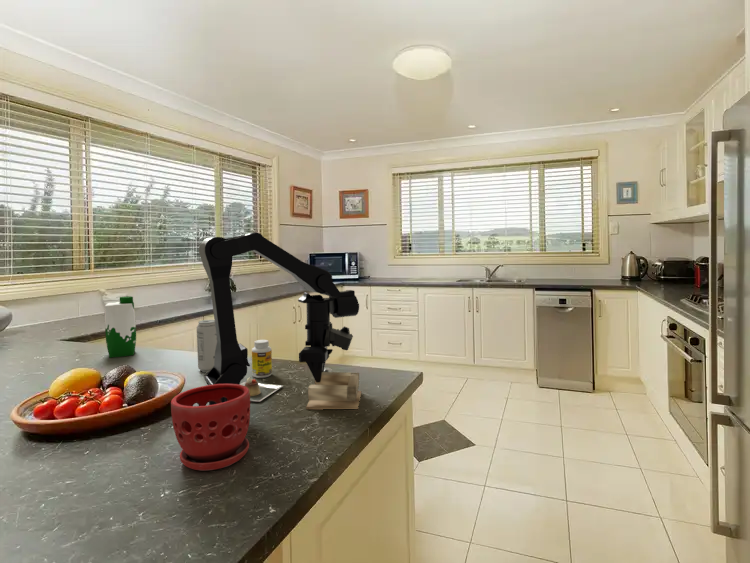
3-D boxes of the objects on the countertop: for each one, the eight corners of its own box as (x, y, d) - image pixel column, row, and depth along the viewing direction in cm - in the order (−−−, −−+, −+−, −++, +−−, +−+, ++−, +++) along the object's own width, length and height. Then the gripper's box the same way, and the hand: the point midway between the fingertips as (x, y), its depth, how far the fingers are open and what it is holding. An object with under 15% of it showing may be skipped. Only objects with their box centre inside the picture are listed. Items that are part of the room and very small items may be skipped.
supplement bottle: (255, 379, 121) (254, 344, 120) (249, 374, 126) (248, 340, 125) (274, 376, 124) (274, 341, 124) (268, 371, 129) (267, 338, 128)
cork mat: (357, 409, 99) (357, 407, 99) (306, 409, 100) (306, 406, 100) (361, 393, 110) (361, 391, 110) (314, 392, 110) (314, 390, 110)
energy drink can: (219, 371, 129) (218, 322, 128) (198, 373, 127) (196, 323, 126) (219, 366, 135) (217, 319, 134) (198, 368, 133) (196, 320, 131)
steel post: (330, 387, 115) (330, 370, 114) (319, 387, 115) (319, 370, 115) (332, 383, 118) (332, 367, 117) (321, 383, 118) (321, 367, 118)
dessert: (283, 389, 115) (283, 372, 114) (260, 405, 103) (259, 386, 103) (244, 385, 118) (243, 368, 118) (217, 401, 107) (216, 382, 106)
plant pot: (259, 440, 84) (257, 380, 83) (240, 476, 71) (238, 406, 70) (191, 441, 84) (188, 381, 82) (160, 478, 70) (156, 407, 69)
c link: (359, 383, 109) (359, 372, 109) (355, 401, 100) (355, 389, 99) (316, 383, 110) (315, 371, 109) (308, 400, 100) (308, 388, 100)
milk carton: (136, 355, 148) (132, 298, 146) (105, 358, 144) (101, 299, 142) (138, 350, 156) (135, 295, 154) (108, 352, 152) (105, 296, 150)
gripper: (346, 327, 98) (346, 393, 99) (353, 313, 116) (354, 370, 118) (297, 326, 98) (298, 393, 99) (313, 313, 117) (313, 369, 118)
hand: (319, 380), depth 109 cm, fingers closed on c link, 2 cm apart
